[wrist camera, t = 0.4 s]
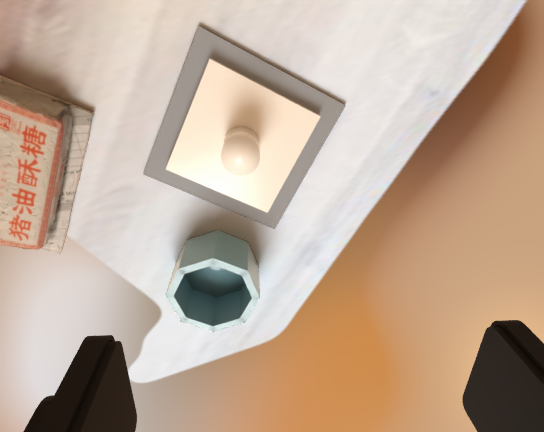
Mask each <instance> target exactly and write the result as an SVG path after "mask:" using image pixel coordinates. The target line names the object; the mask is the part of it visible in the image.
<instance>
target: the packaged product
mask: <svg viewBox="0 0 544 432" xmlns="http://www.w3.org/2000/svg"><path fill="white" fill-rule="evenodd" d="M93 114H94V112H91V111H89V110H86V109H84V108H82V107H79V106H77V105H74V104H72V103H70V102H67V101H65V100H62V99H60V98H58V97H55V96H52V95H50V94H47V93H44V92H41V91H38V90H36V89H33V88H31V87H29V86H26V85H24V84H21V83H19V82H16V81H14V80H11V79H9V78H6V77H4V76H1V75H0V245H4V246H10V247H18V248H20V247H21V248H22V249H44V250H47V251H55V252H57V253H59V254H60V253H61V251H62V249H63V246H64V242H65V238H66V234H67V230H68V226H69V217H70V213H71V209H72V205H73V201H74V198H75V194H76V189H77V186H78V183H79V180H80V176H81V172H82V164H83V158H84V154H85V151H86V147H87V144H88V139H89V133H90V128H91V123H92V117H93Z"/></svg>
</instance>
